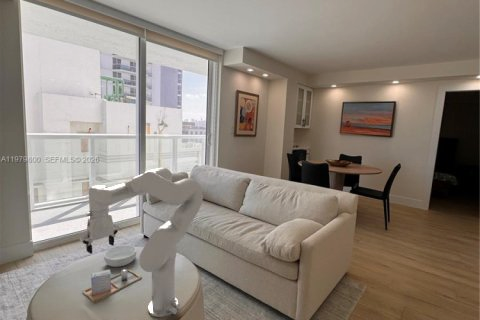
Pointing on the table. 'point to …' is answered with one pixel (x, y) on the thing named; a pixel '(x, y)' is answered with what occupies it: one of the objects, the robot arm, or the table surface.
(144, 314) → the table surface
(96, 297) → the board
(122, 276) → the peg
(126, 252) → the cereal bowl
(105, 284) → the medicine box
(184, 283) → the table surface
